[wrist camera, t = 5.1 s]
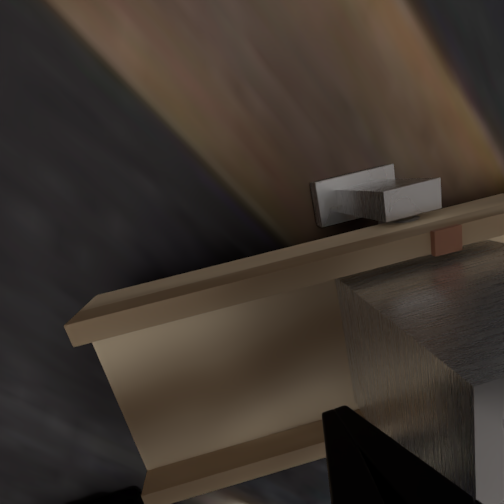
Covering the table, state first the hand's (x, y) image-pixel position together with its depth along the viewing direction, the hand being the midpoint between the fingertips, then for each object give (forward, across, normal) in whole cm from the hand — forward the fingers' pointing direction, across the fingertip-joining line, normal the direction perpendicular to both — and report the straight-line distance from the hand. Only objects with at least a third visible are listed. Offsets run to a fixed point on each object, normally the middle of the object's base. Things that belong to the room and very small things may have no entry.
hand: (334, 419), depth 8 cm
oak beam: (+5, -6, 0) cm, 7 cm away
